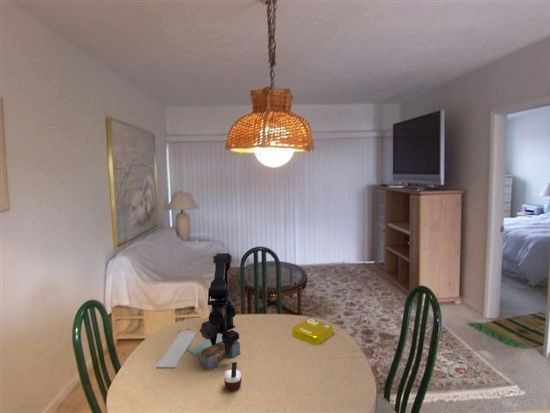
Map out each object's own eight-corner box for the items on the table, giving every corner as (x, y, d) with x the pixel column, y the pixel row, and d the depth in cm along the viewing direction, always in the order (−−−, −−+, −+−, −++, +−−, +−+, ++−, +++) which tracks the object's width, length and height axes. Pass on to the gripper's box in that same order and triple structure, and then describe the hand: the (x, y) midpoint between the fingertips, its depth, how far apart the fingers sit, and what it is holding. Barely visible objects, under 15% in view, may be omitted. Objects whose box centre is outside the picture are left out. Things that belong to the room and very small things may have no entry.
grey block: (231, 350, 149) (230, 337, 148) (240, 354, 145) (239, 342, 144) (224, 353, 146) (223, 341, 145) (232, 358, 142) (232, 346, 141)
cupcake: (227, 380, 127) (225, 349, 127) (244, 380, 127) (242, 349, 126) (221, 396, 118) (219, 363, 117) (239, 396, 117) (237, 362, 117)
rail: (233, 342, 147) (233, 335, 147) (237, 344, 145) (237, 338, 145) (202, 357, 136) (201, 350, 136) (206, 360, 134) (206, 352, 133)
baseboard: (150, 369, 136) (175, 370, 135) (150, 363, 136) (174, 363, 135) (177, 334, 166) (197, 334, 165) (177, 328, 165) (197, 328, 165)
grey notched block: (208, 361, 140) (208, 348, 140) (217, 366, 136) (216, 353, 135) (200, 365, 137) (199, 352, 137) (208, 371, 133) (208, 357, 133)
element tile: (290, 336, 161) (290, 327, 160) (309, 325, 172) (308, 316, 171) (316, 347, 151) (316, 336, 150) (334, 334, 162) (334, 324, 161)
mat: (218, 336, 161) (218, 335, 161) (227, 341, 156) (227, 340, 156) (186, 350, 149) (186, 349, 149) (195, 356, 144) (195, 354, 144)
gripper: (189, 314, 140) (191, 350, 141) (216, 328, 127) (218, 367, 128) (211, 306, 148) (213, 340, 149) (239, 318, 135) (240, 355, 136)
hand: (220, 350), depth 141 cm, fingers open, 9 cm apart
